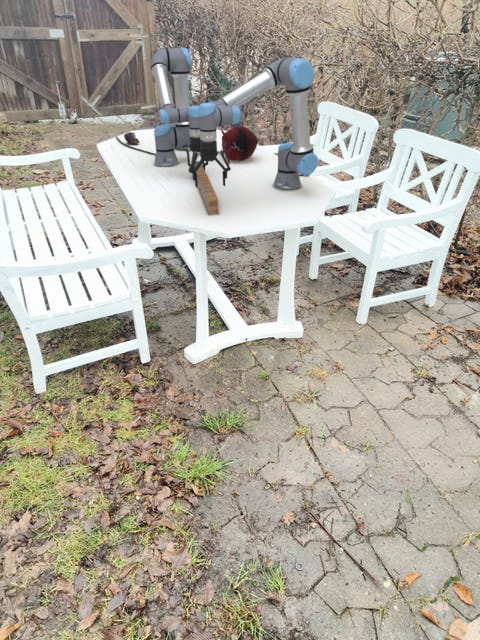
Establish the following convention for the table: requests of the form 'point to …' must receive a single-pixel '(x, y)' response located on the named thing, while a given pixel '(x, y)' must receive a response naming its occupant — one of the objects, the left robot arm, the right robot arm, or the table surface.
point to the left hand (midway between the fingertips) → (198, 177)
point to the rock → (131, 138)
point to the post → (207, 190)
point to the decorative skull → (238, 143)
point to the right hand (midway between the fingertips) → (210, 186)
